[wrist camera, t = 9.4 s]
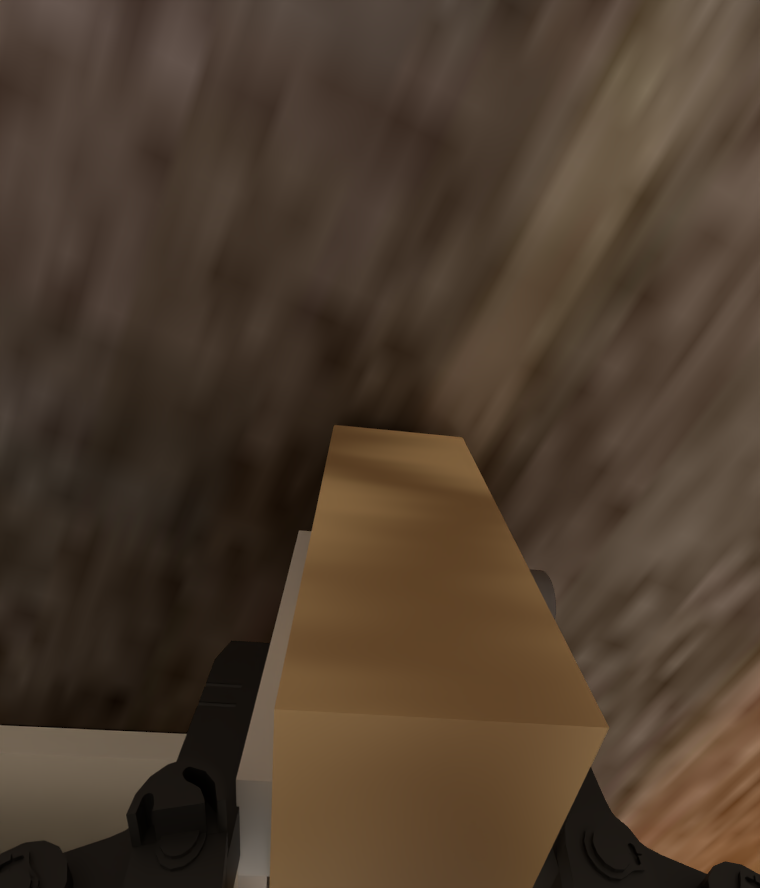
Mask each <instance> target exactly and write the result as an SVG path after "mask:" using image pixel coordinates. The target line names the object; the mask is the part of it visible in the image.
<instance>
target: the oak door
mask: <svg viewBox="0 0 760 888" xmlns="http://www.w3.org/2000/svg"><path fill="white" fill-rule="evenodd" d="M555 616H556V600H555V593H554V588H553V585H552V582H551V580H550V578H549V576H548V575H547V574H546V573H545V572H544V571H542V570H530V569H529V568H528V566H527V564H526V562H525V560H524V558H523V556H522V554H521V552H520V550H519V548H518V546H517V544H516V542H515V540H514V538H513V537H512V535H511V533H510V531H509V529H508V527H507V525H506V523H505V521H504V519H503V517H502V515H501V513H500V511H499V509H498V507H497V505H496V503H495V501H494V499H493V497H492V495H491V493H490V491H489V489H488V487H487V485H486V483H485V481H484V479H483V477H482V475H481V473H480V471H479V469H478V467H477V465H476V463H475V461H474V459H473V457H472V455H471V453H470V451H469V449H468V447H467V445H466V443H465V442H464V440H463V438H462V437H453V436H443V435H433V434H423V433H413V432H402V431H392V430H382V429H372V428H361V427H351V426H341V425H334V427H333V432H332V436H331V441H330V446H329V451H328V456H327V460H326V465H325V470H324V475H323V479H322V484H321V489H320V494H319V498H318V503H317V508H316V513H315V517H314V522H313V527H312V532H311V536H310V541H309V546H308V551H307V555H306V560H305V565H304V570H303V574H302V579H301V584H300V589H299V593H298V598H297V603H296V608H295V613H294V617H293V622H292V627H291V632H290V636H289V641H288V646H287V651H286V655H285V660H284V665H283V670H282V674H281V679H280V684H279V689H278V693H277V698H276V703H275V708H274V734H273V772H272V810H271V847H270V885H269V888H533V885H534V883H535V881H536V879H537V877H538V875H539V873H540V871H541V869H542V867H543V865H544V863H545V860H546V858H547V856H548V854H549V852H550V850H551V848H552V846H553V844H554V842H555V840H556V838H557V836H558V833H559V831H560V829H561V827H562V825H563V823H564V821H565V819H566V817H567V815H568V813H569V811H570V808H571V806H572V804H573V802H574V800H575V798H576V796H577V794H578V792H579V790H580V788H581V786H582V783H583V781H584V779H585V777H586V775H587V773H588V771H589V769H590V767H591V765H592V763H593V761H594V758H595V756H596V754H597V752H598V750H599V748H600V746H601V744H602V742H603V740H604V738H605V736H606V733H607V731H608V729H609V727H608V725H607V723H606V721H605V719H604V717H603V715H602V713H601V711H600V709H599V707H598V705H597V703H596V701H595V699H594V697H593V695H592V693H591V691H590V689H589V687H588V685H587V683H586V681H585V679H584V677H583V675H582V673H581V671H580V669H579V667H578V665H577V663H576V661H575V659H574V657H573V655H572V653H571V651H570V649H569V647H568V645H567V643H566V641H565V639H564V637H563V635H562V634H561V632H560V630H559V628H558V626H557V624H556V622H555Z"/></svg>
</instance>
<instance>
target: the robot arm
mask: <svg viewBox="0 0 760 888" xmlns="http://www.w3.org/2000/svg"><path fill="white" fill-rule="evenodd" d="M311 532H312V531H301V530H299V532H298V536H297V540H296V544H295V548H294V552H293V556H292V560H291V564H290V568H289V572H288V576H287V580H286V584H285V588H284V592H283V596H282V600H281V603H280V607H279V611H278V615H277V619H276V623H275V627H274V631H273V635H272V639H271V643H259V642H244V641H231V642H230V643H229V644H228V645H227V647H226V648H225V649H224V650H223V651H222V652H221V653H220V654H219V656H218V657H217V658H216V659H215V661H214V663H213V666H212V669H211V671H210V674H209V677H208V679H207V682H206V687H204V690H203V692H202V695H201V698H200V700H199V705H198V706H197V708H196V711H195V714H194V716H193V719H192V721H191V724H190V727H189V729H188V732H187V735H186V737H185V740H184V742H183V745H182V748H181V750H180V753H179V756H178V758H177V761H176V762H174V763H170V764H168V765H166V766H165V767H163V768H162V769H160V770H159V771H157V772H156V773H154V774H153V775H152V776H150V777H149V778H148V780H147V781H146V782H145V783H144V784H143V786H142V787H141V788H140V789H139V790H138V791H137V793H136V794H135V796H134V798H133V800H132V803H131V805H130V807H129V809H128V811H127V814H126V817H127V822H128V827H129V828H128V829H126V830H125V831H123V832H120V833H118V834H116V835H114V836H111V837H109V838H106V839H103V840H100V841H97V842H94V843H91V844H88V845H85V846H82V847H79V848H76V849H73V850H70V851H67V852H64V853H63V852H62V851H61V849H60V847H59V846H57V845H54V844H52V843H50V842H47V841H45V840H43V841H34V842H25V843H22V844H20V845H18V846H16V847H14V848H12V849H9V850H7V851H5V852H3V853H1V854H0V888H234V883H235V878H236V874H237V869H238V875H241V876H270V847H271V810H272V772H273V734H274V708H275V703H276V698H277V693H278V689H279V684H280V679H281V674H282V670H283V665H284V660H285V655H286V651H287V646H288V641H289V636H290V632H291V627H292V622H293V617H294V613H295V608H296V603H297V598H298V593H299V589H300V584H301V579H302V574H303V570H304V565H305V560H306V555H307V551H308V546H309V541H310V536H311ZM533 888H760V875H759V874H757V873H756V872H754V871H752V870H750V869H748V868H747V867H745V866H743V865H740V864H735V863H730V862H723V863H720V864H718V865H715V866H713V868H712V869H711V870H710V871H709V873H708V874H705V873H703V872H701V871H698V870H696V869H693V868H691V867H689V866H686V865H684V864H681V863H679V862H677V861H674V860H672V859H670V858H667V857H665V856H662V855H660V854H658V853H656V852H654V851H653V850H651V849H649V848H647V847H646V846H644V845H643V844H642V843H640V842H639V840H638V839H637V838H636V837H635V835H634V834H633V833H632V832H631V830H630V829H629V828H628V827H627V826H626V825H625V824H624V823H622V822H621V821H620V820H619V819H617V818H616V817H615V816H614V814H613V813H612V812H611V810H610V808H609V806H608V804H607V802H606V801H605V799H604V796H603V794H602V792H601V789H600V787H599V785H598V782H597V780H596V778H595V776H594V773H593V771H592V769H591V767H590V769H589V771H588V773H587V775H586V777H585V779H584V781H583V783H582V786H581V788H580V790H579V792H578V794H577V796H576V798H575V800H574V802H573V804H572V806H571V808H570V811H569V813H568V815H567V817H566V819H565V821H564V823H563V825H562V827H561V829H560V831H559V833H558V836H557V838H556V840H555V842H554V844H553V846H552V848H551V850H550V852H549V854H548V856H547V858H546V860H545V863H544V865H543V867H542V869H541V871H540V873H539V875H538V877H537V879H536V881H535V883H534V885H533Z"/></svg>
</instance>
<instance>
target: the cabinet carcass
mask: <svg viewBox="0 0 760 888" xmlns="http://www.w3.org/2000/svg"><path fill="white" fill-rule="evenodd" d="M186 735H187V734H176V733H155V732H134V731H112V730H91V729H70V728H48V727H27V726H6V725H0V854H1V853H3V852H5V851H7V850H9V849H12V848H14V847H16V846H18V845H20V844H22V843H25V842H34V841H43V840H45V841H47V842H50V843H52V844H54V845H57V846H59V847H60V849H61V851H62V852H63V853H64V852H67V851H70V850H73V849H76V848H79V847H82V846H85V845H88V844H91V843H94V842H97V841H100V840H103V839H106V838H109V837H111V836H114V835H116V834H118V833H120V832H123V831H125V830H126V829H128V828H129V827H128V822H127V817H126V814H127V811H128V809H129V807H130V805H131V803H132V800H133V798H134V796H135V794H136V793H137V791H138V790H139V789H140V788H141V787H142V786H143V784H144V783H145V782H146V781H147V780H148V778H149V777H150V776H152V775H153V774H154V773H156V772H157V771H159V770H160V769H162V768H163V767H165V766H166V765H168V764H170V763H174V762H176V761H177V758H178V756H179V753H180V750H181V748H182V745H183V742H184V740H185V737H186ZM234 888H238V869H237V874H236V878H235V883H234Z"/></svg>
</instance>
